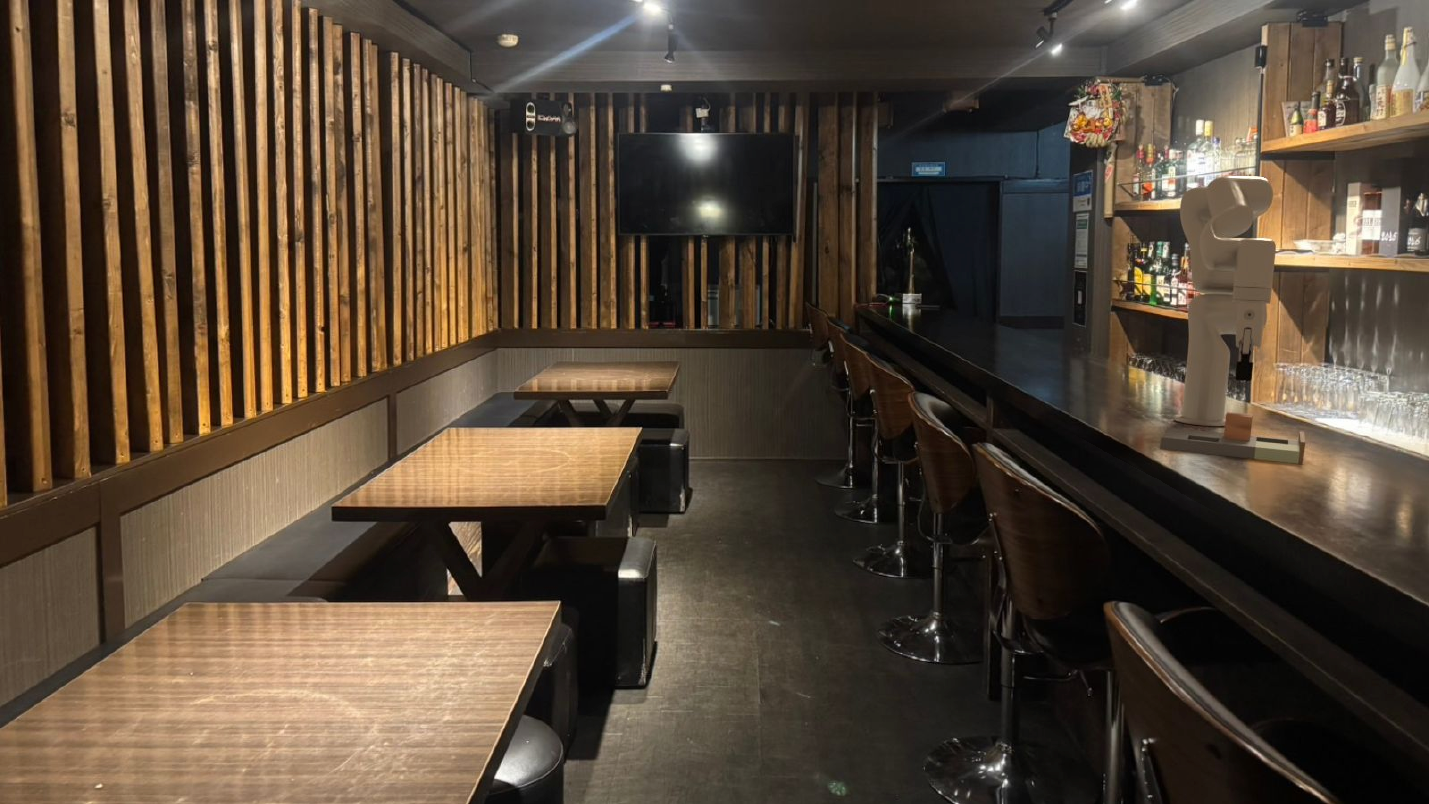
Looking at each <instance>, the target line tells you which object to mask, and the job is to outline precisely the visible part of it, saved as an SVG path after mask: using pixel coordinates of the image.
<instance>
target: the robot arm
mask: <svg viewBox="0 0 1429 804" xmlns="http://www.w3.org/2000/svg"><path fill="white" fill-rule="evenodd" d="M1273 190H1274V189H1273V187H1272V184H1271V183H1270V181H1269V180H1268V179H1267V178H1264V177H1261V176H1241V175H1240V176H1238V175H1237V176H1236V175H1228V176H1226V175H1225V176H1219V177H1216V178H1214V179H1213V180H1211V181H1210V182H1209V183H1208V184H1207V186H1197V187H1192V188H1190V189H1188V190H1186V191H1185V192H1184V193H1183V195H1182V197H1181V200H1180V204H1179V215H1180V216H1179V217H1180V223H1181V227H1182V230H1183V232H1184V235H1185V238H1186V240H1187V242H1188V246H1189V254H1190V255H1189V256H1190V269H1191V270H1190V271H1191V280H1192V281H1191V282H1192V286H1193V288H1194V290H1195V291H1196V292H1198V293H1199V295H1196V296H1194V297H1193V298H1192V299H1191V300H1190V302H1189V303H1188V306H1187V307H1188V308H1187V323H1188V348H1187V358H1186V359H1187V360H1186V369H1185V379H1184V389H1183V398H1182V399H1183V400H1182V409H1181V410H1182V411H1181V413H1178V414H1175V415H1174V420H1175V422H1179V423H1183V424H1189V425H1194V426H1195V425H1196V426H1202V427H1203V426H1205V427H1225V421H1226V417H1225V409H1226V399H1227V389H1228V383H1229V381H1228V380H1229V373H1230V372H1229V371H1230V370H1229V369H1230V361H1231V351H1230V348H1229V346H1228V345H1227V344H1226V342H1225V341H1224V340H1223V338H1222V336H1221V335H1235V347H1236V348H1238V360H1237V361H1236V369H1235V370H1236V371H1235V376H1234V377H1235V380H1236V381H1241V382H1243V381H1244V382H1251V381H1252V380H1253V378H1252V377H1253V371H1254V362H1253V357H1254V349H1255V348H1254V347H1257V349H1256V350H1260V349H1261V348H1262V343H1263V342H1262V341H1263V331H1264V329H1265V328H1266V324H1267V319H1268V309H1267V304H1268V305H1269V304H1271V301H1272V300H1271V299H1272V290H1273V289H1272V287H1273V283H1274V279H1273V278H1274V271H1275V263H1276V262H1275V261H1276V260H1275V259H1276V253H1277V251H1276V248H1277V247H1276V246H1277V244H1276V242H1275V241H1274V240H1273V239H1270V238H1255V237H1254V238H1251V237H1250V238H1246V237H1239V235H1242V234H1244V233H1245V232H1247V231H1248V230H1249V229H1250V228H1251V226H1252V224H1253V223H1254V220H1255V219H1257V218H1259V217H1260V216H1262V215H1265V213H1266V212H1268V210H1269V209H1270V208H1271V206H1272V203H1273V198H1274V191H1273Z"/></svg>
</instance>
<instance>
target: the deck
mask: <svg viewBox="0 0 1429 804" xmlns="http://www.w3.org/2000/svg"><path fill="white" fill-rule="evenodd" d="M1160 437H1161V438H1160V445H1159V449H1160V450H1166V451H1177V452H1187V453H1194V454H1195V453H1196V454H1204V455H1215V456H1220V457H1221V456H1224V457H1231V458H1241V459H1250V460H1259V461H1267V462H1268V461H1269V462H1277V463H1278V462H1279V463H1286V464H1298V465H1303V464H1304V457H1305V456H1304V455H1305V448H1306V437H1305V432H1304V431H1299V433H1298V440H1295V439H1286V438H1277V437H1269V436H1268V437H1267V436H1258V435H1257V436H1256V435H1251V437H1250V441H1247V440H1238V439H1228V438H1224V432H1216V431H1207V430H1205V431H1204V430H1198V429H1186V428H1178V427H1177V428H1176V427H1167V428H1166V429H1165V431H1164V432H1163V433H1162V436H1160Z"/></svg>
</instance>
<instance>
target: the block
mask: <svg viewBox="0 0 1429 804" xmlns="http://www.w3.org/2000/svg"><path fill="white" fill-rule="evenodd" d="M1253 417H1254V414H1252V413H1244V412H1243V413H1241V412H1234V411H1233V412H1232V411H1227V412H1226V415H1225V418H1226V421H1225V426H1224V430H1223V433H1224V438H1228V439H1238V440H1247V441H1250V437H1251V436H1252V427H1253Z"/></svg>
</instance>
